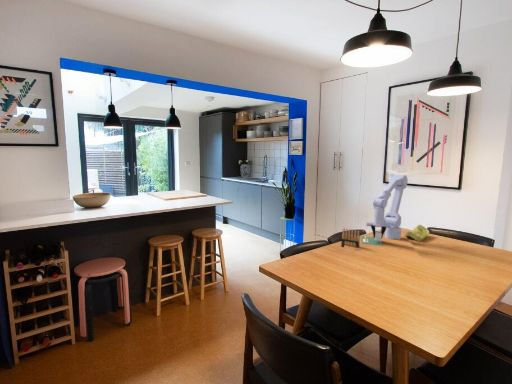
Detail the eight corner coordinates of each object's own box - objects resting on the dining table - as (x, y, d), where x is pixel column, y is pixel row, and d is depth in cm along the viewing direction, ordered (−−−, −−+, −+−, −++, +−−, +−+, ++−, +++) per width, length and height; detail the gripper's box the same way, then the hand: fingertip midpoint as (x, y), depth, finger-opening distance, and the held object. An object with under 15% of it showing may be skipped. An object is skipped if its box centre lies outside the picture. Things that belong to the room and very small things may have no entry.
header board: (379, 240, 194) (380, 234, 194) (382, 248, 177) (383, 242, 177) (360, 238, 198) (361, 232, 197) (361, 246, 181) (362, 239, 180)
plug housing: (380, 238, 188) (380, 230, 187) (381, 241, 181) (381, 233, 181) (374, 237, 189) (374, 230, 188) (375, 240, 182) (375, 232, 182)
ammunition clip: (341, 246, 180) (342, 227, 178) (342, 245, 181) (343, 227, 180) (358, 250, 174) (359, 230, 172) (359, 249, 175) (360, 229, 173)
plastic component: (421, 238, 191) (407, 229, 196) (415, 247, 194) (402, 238, 200) (431, 231, 204) (418, 223, 210) (425, 239, 207) (412, 231, 213)
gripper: (367, 217, 182) (365, 238, 183) (392, 219, 177) (390, 240, 179) (366, 215, 188) (365, 235, 190) (391, 216, 184) (389, 237, 186)
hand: (377, 237), depth 185 cm, fingers closed on plug housing, 4 cm apart
